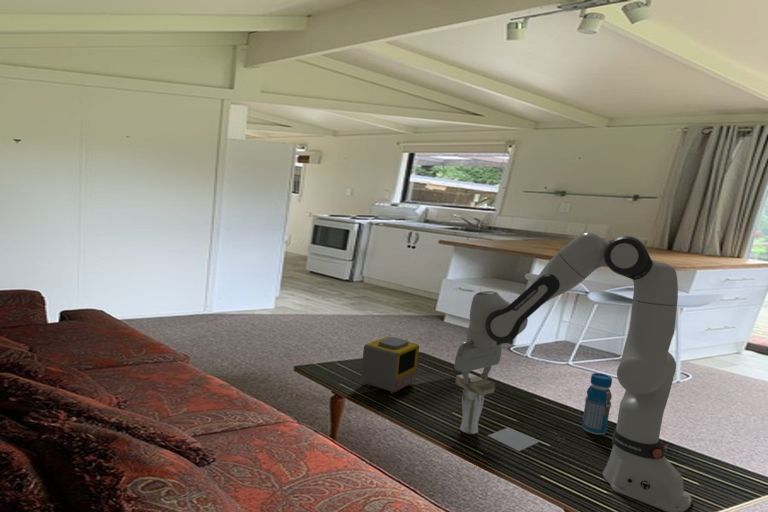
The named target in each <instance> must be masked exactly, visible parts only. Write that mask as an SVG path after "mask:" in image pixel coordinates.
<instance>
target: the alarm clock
mask: <svg viewBox="0 0 768 512" xmlns="http://www.w3.org/2000/svg"><path fill="white" fill-rule="evenodd" d="M419 352H420V344H418V343H414V342H411V341H409V340H407V339H403V338H399V337H394V336H386V337H384V338H380V339H376V340H374V341H372V342H368V343H365V344H364V346H363V352H362V360H361V361H362V363H361V371H360V382H361V383H363V384H367V386H368V387H371V386H373V387H374V388H375V387H376V388H378V389H381V390H385V391H388V392H390V394H391V395H392V394H394V393H396V392H398V391H400V390H401V389H404V388H405V387H407V386H409V385H410V384H413V383H414V382H416V378H417V372H418V371H417V369H418V362H419Z"/></svg>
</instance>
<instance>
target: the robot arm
mask: <svg viewBox="0 0 768 512" xmlns="http://www.w3.org/2000/svg"><path fill="white" fill-rule="evenodd" d="M649 254H650V253H649V250H648V247H647V245H646V244H645V243H644V241H642V240H641V239H640V238H639V237H635V236H633V235H621V236H618V237H616V238H613V239H612V240H607V241H606V240H604V239H603V238H602V237H601V236H599V235H598V234H596V233H593V232H583V233H581V234H580V235H578V236H577V237H574V238H573V239H572V240H571V241H569V242H568V243H566V245H564V246H563V247H562V248H561V249H560V250H559V251H557V252H556V253H555V254H554V255H553V257H551V258H550V260H549V261H548V262H547V263H546V264H545V266H544V267H543V269H542V270H541V272H540V273H539V274H538V276H536V278H535V280H534V281H533V282H532V283H531V284H530V286H529V287H528V288H527V289H525V290H524V291H523V292H522V293H521V294H520V295H518V297H517V298H515V299H514V300H513V301H512V302H509V301H507V300H506V299H504V298H503V297H501V296H500V294H499V293H498V292H497V291H492V290H491V291H490V290H488V291H487V290H485V291H480V292H476V293H475V294H474V295H473V297H472V300H471V305H470V309H469V310H470V311H469V325H468V326H467V327H468V328H467V334H466V341H465V342H462V344H461V345H460V346H459V347H458V349H457V350H456V354H455V358H454V359H455V360H454V367H453V368H454V370H456V371H458V372H461V374H462V375H463V383H465V384H468V383H470V379H471V378H469V376H468V374H469V373H471V371H475V370H480V369H483V371H482V372H481V373H480V377H481V378H483V379H486V380H488V377H489V373H490V372H491V370H492V367H493V366H496V365H498V364H499V363H500V360H501V356H502V345H503V344H508V343H511V342H512V341H513V340H515V338H516V337H517V336H518V335H520V334H521V333H523V331H524V330H525V329H526V328H527V325H528V318H529V317H531V316H532V315H533V314H534V313H535V312H536V311H538V309H539V308H540V307H541V306H543V305H544V304H545V303H546V302H549V301H550V300H551V299H554V298H556V297H558V296H560V295H562V294H564V293H566V292H568V291H570V290H572V289H573V288H575V287H577V286H578V285H579V284H581V283H582V282H583V281H584V280H586V279H587V278H588V277H589V276H590V275H591V274H592V273H593V272H595V271H596V270H598V269H599V268H603V267H607V268H609V270H611V271H612V272H614V273H615V274H618V275H619V276H623V277H626V278H628V279H631V280H632V282H633V295H632V304H631V305H632V306H631V313H630V323H629V328H628V332H627V333H628V334H627V336H626V339H625V344H624V346H623V347H624V348H623V351H622V354H621V359H620V361H619V362H620V363H619V364H618V367H617V370H616V378H617V380H618V382H619V385H621V387H622V388H624V394H623V397H622V399H621V401H620V402H619V409H618V414H617V415H618V416H617V421H616V427H615V428H614V430H613V434H612V438H611V439H612V440H611V447H612V448H611V452H610V455H609V458H608V461H607V464H606V465H605V468H604V469H603V471H602V476H603V478H604V479H605V481H606V482H607V483H609V484H610V487H611V490H613V491H615V492H616V493H618V494H621V495H624V496H627V497H629V498H632V499H634V500H637V501H638V502H642V503H644V504H647V505H648V506H649V505H650V506H651V507H655V508H656V509H657V508H658V509H660V510H663V512H686V511H687V510H688V509H689V508H690V507H691V505H692V495H690V494H689V493H688V492H687V491H684V480H683V479H684V478H683V476H682V475H681V473H680V472H679V471H678V470H677V469H676V467H674V466H673V464H672V463H671V462H670V461H669V460H668V459H667V458H666V456H665V454H666V451H667V447H668V445H667V444H665V445H664V444H663V443H662V441H660V436H661V435H660V434H661V429H662V423H663V417H664V414H665V409H666V406H667V403H668V399H669V396H670V392H671V389H672V385H673V381H674V377H675V374H676V369H677V362H676V359H675V357H674V356H673V355H672V354H671V353H670V352H669V350H670V346H671V343H672V340H673V337H674V334H675V328H676V320H677V319H676V318H677V312H678V311H677V310H678V299H679V284H678V276H677V274H678V273H677V272H676V271H677V270H676V269H675V268H674V267H673V266H671V265H670V264H667V263H666V262H660V261H656V260H655V261H654V260H652V259H651V257H650V255H649Z"/></svg>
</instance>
